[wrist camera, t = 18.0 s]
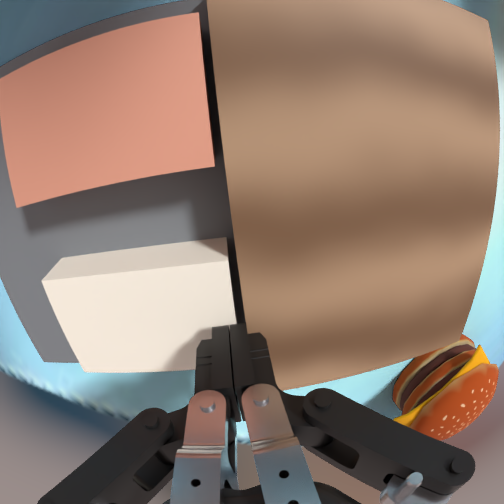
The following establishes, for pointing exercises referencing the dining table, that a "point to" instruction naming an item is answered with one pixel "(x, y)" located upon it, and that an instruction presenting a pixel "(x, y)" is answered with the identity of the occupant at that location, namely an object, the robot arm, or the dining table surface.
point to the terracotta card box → (108, 110)
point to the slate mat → (109, 205)
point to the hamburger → (445, 389)
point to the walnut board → (356, 174)
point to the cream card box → (142, 304)
